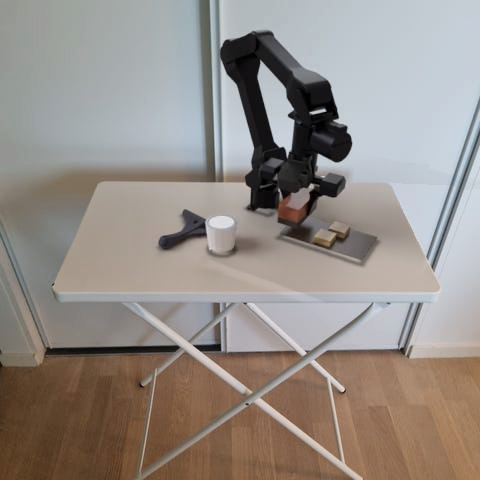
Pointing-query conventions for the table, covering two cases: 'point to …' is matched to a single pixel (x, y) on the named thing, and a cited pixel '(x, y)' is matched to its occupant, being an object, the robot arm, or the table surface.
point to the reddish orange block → (294, 208)
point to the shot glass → (221, 232)
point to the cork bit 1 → (325, 237)
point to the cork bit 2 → (339, 229)
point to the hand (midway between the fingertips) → (297, 211)
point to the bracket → (185, 229)
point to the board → (350, 246)
